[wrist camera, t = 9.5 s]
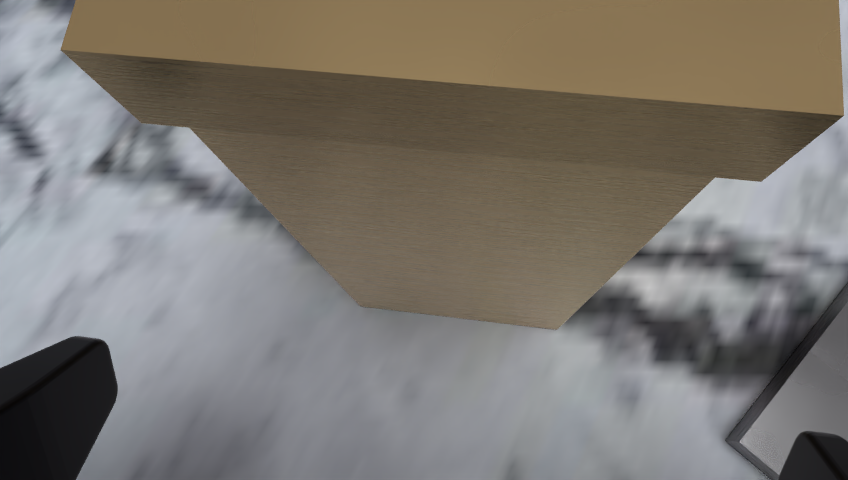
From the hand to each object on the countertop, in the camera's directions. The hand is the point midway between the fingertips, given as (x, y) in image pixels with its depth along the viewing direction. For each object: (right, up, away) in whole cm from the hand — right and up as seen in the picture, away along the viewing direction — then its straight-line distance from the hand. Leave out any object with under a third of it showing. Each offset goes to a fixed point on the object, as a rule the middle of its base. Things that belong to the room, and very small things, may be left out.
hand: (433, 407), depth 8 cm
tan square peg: (+1, +3, +8) cm, 9 cm away
